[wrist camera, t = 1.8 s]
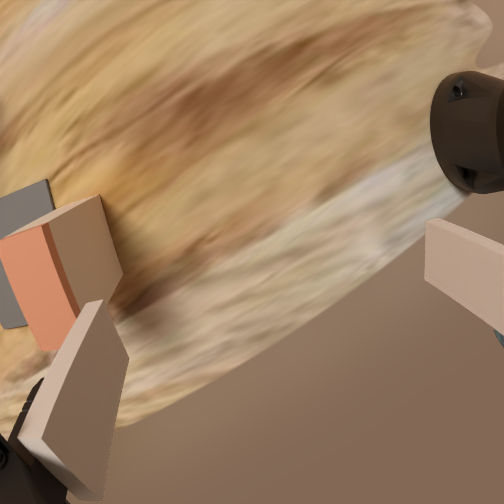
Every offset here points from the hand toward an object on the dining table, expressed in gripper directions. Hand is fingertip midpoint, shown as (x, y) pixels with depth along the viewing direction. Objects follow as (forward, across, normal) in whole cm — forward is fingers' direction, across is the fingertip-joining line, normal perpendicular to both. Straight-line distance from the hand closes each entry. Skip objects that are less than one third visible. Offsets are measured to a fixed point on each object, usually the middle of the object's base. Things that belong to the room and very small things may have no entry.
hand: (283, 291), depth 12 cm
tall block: (+18, +14, 0) cm, 23 cm away
